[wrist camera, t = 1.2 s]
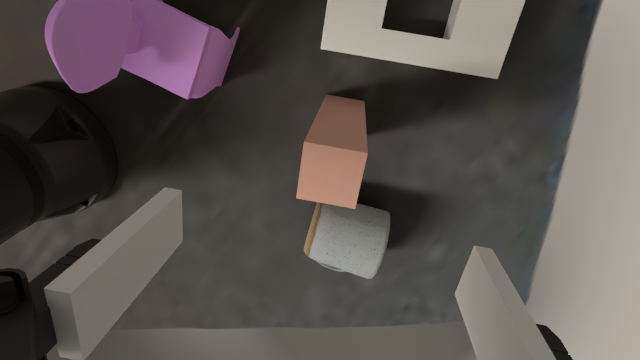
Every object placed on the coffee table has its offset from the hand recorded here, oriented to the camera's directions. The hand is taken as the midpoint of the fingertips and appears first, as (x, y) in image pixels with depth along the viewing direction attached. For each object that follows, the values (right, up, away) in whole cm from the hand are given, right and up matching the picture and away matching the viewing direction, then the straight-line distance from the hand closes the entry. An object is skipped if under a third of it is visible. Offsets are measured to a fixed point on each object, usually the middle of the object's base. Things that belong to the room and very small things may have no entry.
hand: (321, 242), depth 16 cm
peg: (+2, +9, +21) cm, 24 cm away
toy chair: (-13, +17, +20) cm, 29 cm away
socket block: (+9, +19, +16) cm, 27 cm away
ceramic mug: (+3, -3, +27) cm, 27 cm away
